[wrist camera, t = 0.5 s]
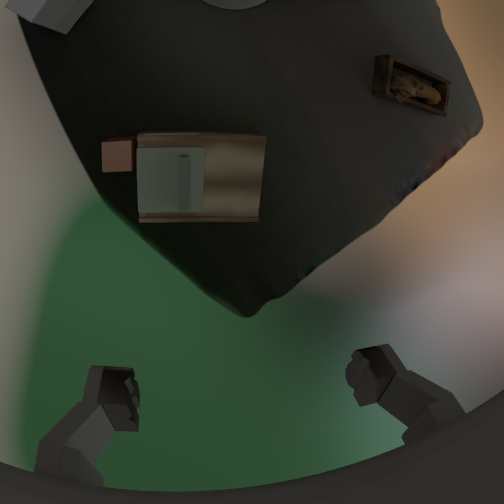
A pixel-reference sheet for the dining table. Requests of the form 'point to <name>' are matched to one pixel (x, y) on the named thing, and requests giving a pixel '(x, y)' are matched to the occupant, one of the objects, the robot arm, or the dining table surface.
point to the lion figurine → (413, 89)
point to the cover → (170, 179)
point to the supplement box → (50, 12)
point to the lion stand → (440, 84)
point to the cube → (119, 154)
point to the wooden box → (217, 174)
